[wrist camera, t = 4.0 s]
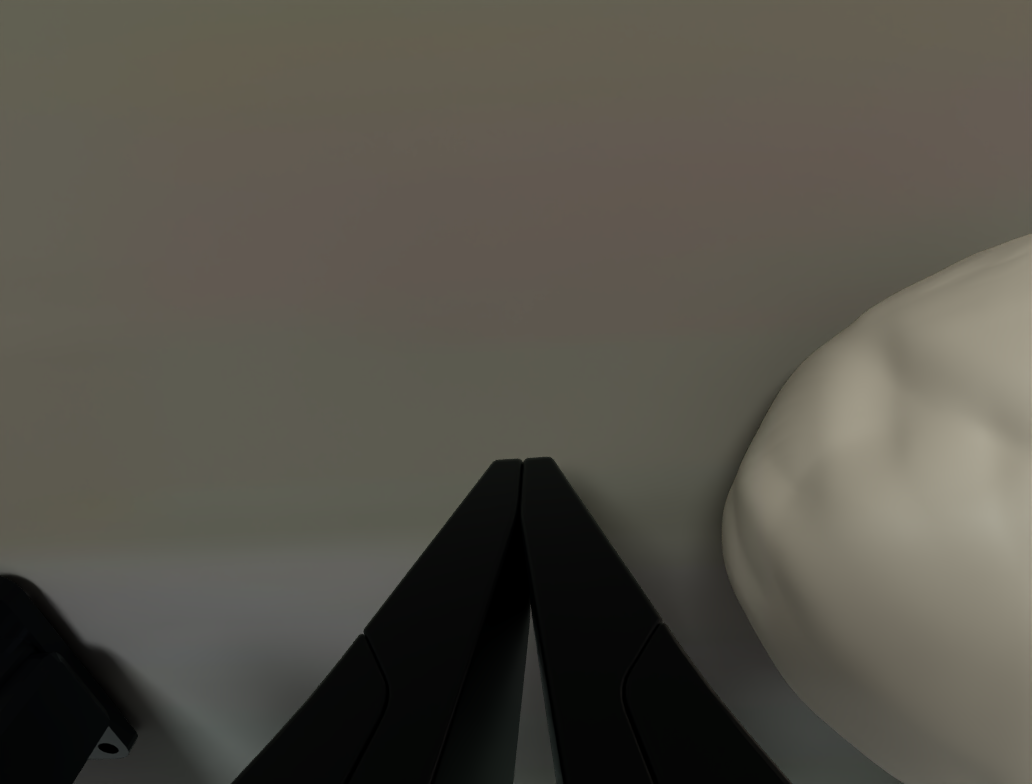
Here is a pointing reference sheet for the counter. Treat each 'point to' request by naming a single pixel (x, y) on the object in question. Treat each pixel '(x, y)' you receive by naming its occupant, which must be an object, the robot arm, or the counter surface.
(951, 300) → the garlic bulb
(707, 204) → the counter surface
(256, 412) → the counter surface
